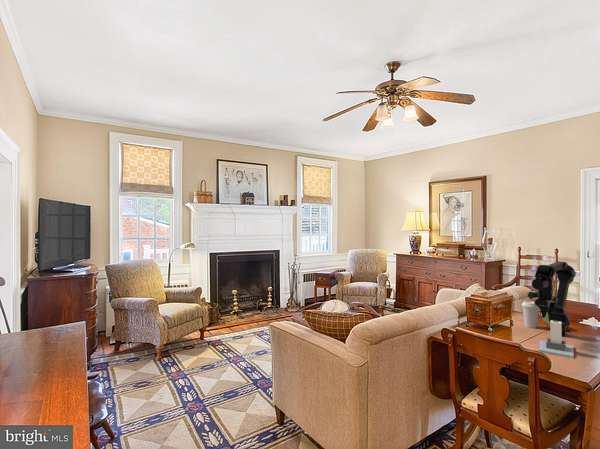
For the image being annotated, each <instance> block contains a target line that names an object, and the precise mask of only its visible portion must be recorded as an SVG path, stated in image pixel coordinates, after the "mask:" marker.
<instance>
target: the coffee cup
mask: <svg viewBox="0 0 600 449" xmlns="http://www.w3.org/2000/svg"><path fill="white" fill-rule="evenodd" d="M521 307H522V312H523V323H524V327H526V328H530V329H536V328H538V322H539V314H540V313H539V311H540V309H539V307H538V306H536V304H534V301H531V300H524V301H523V302H522V303H521Z"/></svg>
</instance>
